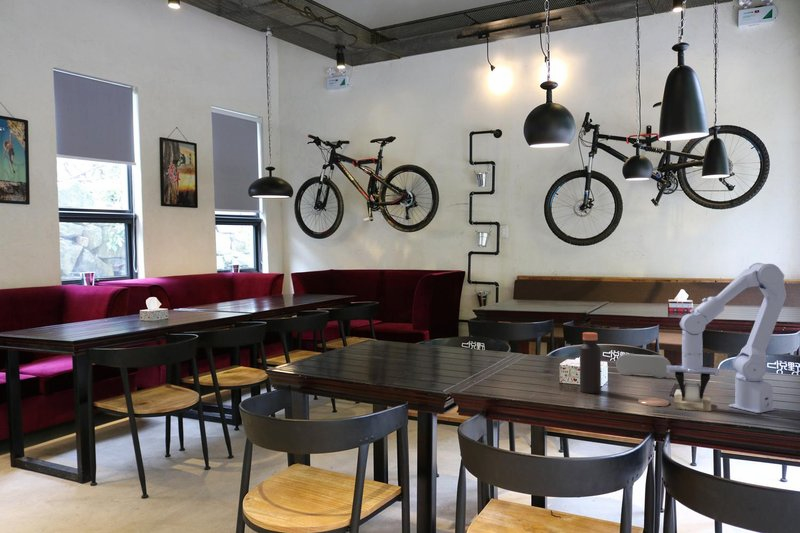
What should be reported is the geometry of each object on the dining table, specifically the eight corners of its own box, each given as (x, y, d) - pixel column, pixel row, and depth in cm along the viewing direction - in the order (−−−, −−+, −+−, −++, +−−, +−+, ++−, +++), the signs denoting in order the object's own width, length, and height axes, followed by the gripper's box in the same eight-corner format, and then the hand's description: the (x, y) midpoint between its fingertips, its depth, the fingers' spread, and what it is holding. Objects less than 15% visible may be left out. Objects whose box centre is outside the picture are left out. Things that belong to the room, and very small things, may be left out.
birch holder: (709, 403, 193) (709, 397, 193) (711, 411, 184) (711, 405, 184) (674, 400, 197) (674, 394, 197) (674, 408, 188) (674, 402, 188)
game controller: (671, 377, 231) (671, 355, 231) (671, 379, 229) (671, 356, 229) (616, 373, 240) (616, 352, 240) (615, 374, 238) (615, 353, 238)
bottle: (600, 394, 207) (600, 334, 206) (579, 393, 209) (579, 334, 209) (601, 389, 213) (600, 332, 213) (580, 388, 216) (580, 331, 215)
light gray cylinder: (703, 406, 190) (703, 383, 189) (693, 408, 188) (693, 385, 187) (690, 403, 194) (690, 381, 193) (681, 405, 192) (681, 382, 191)
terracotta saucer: (675, 404, 193) (675, 402, 193) (655, 407, 189) (655, 406, 189) (651, 397, 201) (651, 396, 201) (631, 401, 197) (631, 399, 197)
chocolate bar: (702, 386, 215) (700, 397, 199) (702, 388, 215) (700, 400, 199) (674, 383, 219) (669, 394, 203) (674, 386, 219) (669, 397, 203)
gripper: (666, 354, 189) (666, 398, 190) (719, 356, 183) (719, 402, 184) (666, 350, 196) (666, 392, 196) (718, 353, 190) (718, 396, 190)
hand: (692, 397), depth 191 cm, fingers closed on light gray cylinder, 4 cm apart
